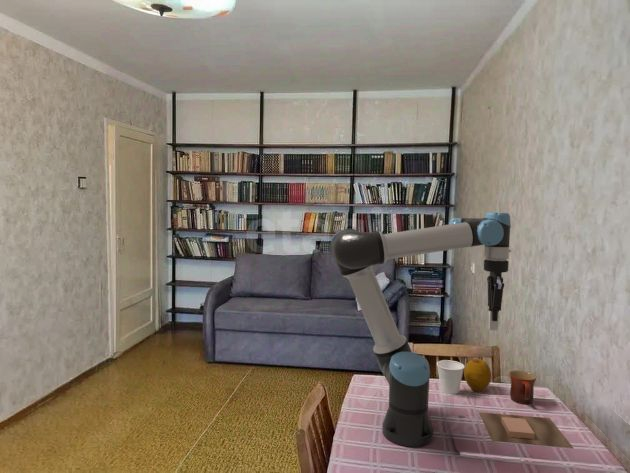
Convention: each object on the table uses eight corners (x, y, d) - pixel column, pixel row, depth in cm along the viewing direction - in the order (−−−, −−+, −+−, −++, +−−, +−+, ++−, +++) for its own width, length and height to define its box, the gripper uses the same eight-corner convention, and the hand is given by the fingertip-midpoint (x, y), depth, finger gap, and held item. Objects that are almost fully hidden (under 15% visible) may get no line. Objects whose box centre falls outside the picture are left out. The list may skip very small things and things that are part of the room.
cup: (431, 388, 166) (432, 360, 165) (456, 387, 167) (457, 359, 166) (441, 400, 156) (442, 370, 156) (468, 399, 157) (469, 369, 157)
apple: (471, 382, 173) (472, 353, 172) (495, 390, 166) (496, 359, 165) (458, 388, 166) (459, 358, 166) (483, 397, 159) (484, 365, 158)
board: (492, 444, 127) (492, 440, 127) (478, 415, 145) (478, 412, 145) (573, 452, 124) (573, 448, 124) (549, 421, 142) (549, 418, 142)
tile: (501, 422, 138) (509, 437, 129) (501, 416, 138) (509, 431, 129) (524, 424, 137) (534, 439, 128) (524, 418, 137) (534, 433, 128)
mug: (505, 396, 160) (506, 369, 159) (531, 399, 158) (532, 371, 158) (513, 411, 148) (514, 382, 148) (541, 414, 147) (542, 384, 146)
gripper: (513, 262, 137) (510, 336, 139) (503, 257, 150) (500, 325, 152) (488, 261, 138) (485, 334, 140) (480, 256, 151) (477, 323, 153)
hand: (493, 329), depth 146 cm, fingers closed
